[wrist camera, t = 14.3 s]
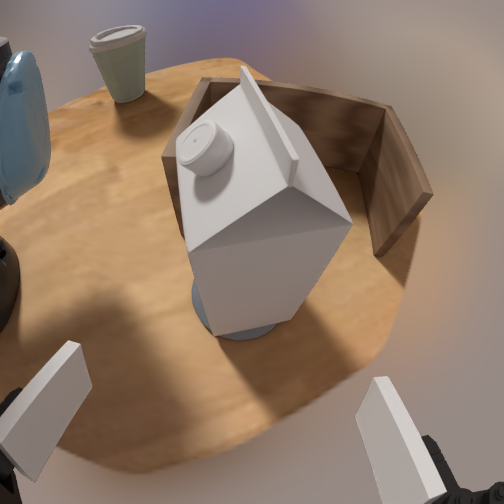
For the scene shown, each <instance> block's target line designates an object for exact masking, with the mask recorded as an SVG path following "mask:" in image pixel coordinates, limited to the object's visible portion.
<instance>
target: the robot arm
mask: <svg viewBox="0 0 504 504" xmlns="http://www.w3.org/2000/svg"><path fill="white" fill-rule="evenodd" d="M50 157H51V141H50V129H49V120H48V113H47V106H46V100H45V94H44V89H43V84H42V79H41V75H40V71H39V68H38V66H37V65H36V60H35V57H34V55H33V54H32V53H31V52H29V51H23V52H21V51H19V52H17V53H15V54H14V55H12V52H11V48H10V45H9V41H8V38H5V37H0V210H1V209H2V208H4V207H5V206H7V205H8V204H9V205H12V204H14V203H15V202H16V200H17V199H18V198H19V197H20V196H21V195H23V194H24V193H26V192H27V191H29V190H30V189H32V188H33V187H35V186H36V185H37V184H39V183H40V182H41V181H42V180H43V178H44V177H45V175H46V173H47V171H48V168H49V164H50ZM18 283H19V263H18V258H17V255H16V252H15V250H14V249H13V248H12V246H11V245H10V244H9V243H8V242H7V241H6V240H5V239H4V238H2V237H1V236H0V332H1V331H2V329H3V327H4V326H5V324H6V322H7V320H8V318H9V316H10V314H11V311H12V308H13V305H14V302H15V299H16V295H17V290H18ZM92 387H93V386H92V383H91V380H90V376H89V373H88V370H87V366H86V362H85V359H84V355H83V351H82V347H81V344H79V343H76V342H72V341H69V340H68V341H67V342H66V343H65V344H64V345H63V346H62V347H61V348H60V349H59V350H58V351H57V353H56V354H55V355H54V356H53V357H52V358H51V359H50V360H49V361H48V362H47V363H46V364H45V365H44V367H43V368H42V369H41V370H40V371H39V372H38V373H37V374H36V375H35V377H34V378H33V379H32V380H31V381H30V382H29V383H28V385H27V386H26V387H25V388H24V389H21V388H17V389H16V390H14V391H12V392H10V393H9V395H8V396H7V397H6V398H5V399H4V402H3V401H2V403H1V404H0V504H22V501H21V498H20V493H19V489H18V485H17V480H16V476H15V473H14V471H13V469H14V467H16V468H17V469H18V471H19V472H20V473H21V474H23V475H24V476H26V477H27V478H29V479H30V480H32V481H33V482H36V480H37V478H38V476H39V474H40V473H41V471H42V469H43V467H44V465H45V464H46V462H47V460H48V458H49V457H50V455H51V453H52V451H53V450H54V448H55V446H56V445H57V443H58V441H59V440H60V438H61V436H62V435H63V433H64V431H65V430H66V428H67V427H68V425H69V423H70V422H71V420H72V419H73V417H74V415H75V414H76V412H77V411H78V409H79V407H80V406H81V404H82V403H83V401H84V400H85V398H86V397H87V395H88V394H89V392H90V391H91V389H92ZM355 420H356V423H357V426H358V429H359V432H360V434H361V437H362V440H363V443H364V446H365V449H366V452H367V455H368V458H369V461H370V465H371V468H372V471H373V474H374V477H375V480H376V483H377V487H378V490H379V493H380V496H381V500H382V503H383V504H504V482H497V483H495V484H494V485H493V486H492V487H490V489H488V490H484V491H478V492H471V491H470V490H468V489H464V488H460V487H459V486H458V484H457V482H456V480H455V478H454V476H453V474H452V472H451V470H450V468H449V466H448V464H447V462H446V461H445V460H444V456H443V454H442V453H441V450H440V449H439V447H438V445H437V443H436V442H435V441H434V440H433V439H432V438H431V437H430V436H429V435H426V436H422V437H420V435H419V433H418V431H417V429H416V427H415V426H414V423H413V421H412V419H411V417H410V416H409V414H408V412H407V410H406V408H405V406H404V404H403V403H402V401H401V399H400V397H399V395H398V394H397V392H396V390H395V388H394V386H393V385H392V383H391V381H390V379H389V378H388V376H384V377H374V378H373V379H372V382H371V384H370V386H369V388H368V390H367V393H366V395H365V397H364V399H363V401H362V403H361V405H360V407H359V409H358V411H357V413H356V415H355Z"/></svg>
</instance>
